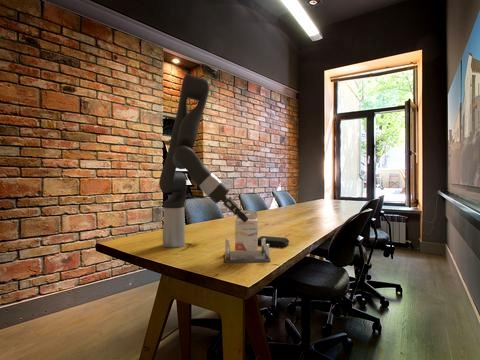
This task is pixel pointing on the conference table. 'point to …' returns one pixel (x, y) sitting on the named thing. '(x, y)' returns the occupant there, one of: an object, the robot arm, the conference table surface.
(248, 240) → the ink cartridge box
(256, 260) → the standoff plate
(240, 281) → the conference table surface
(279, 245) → the carrying case or bag
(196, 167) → the robot arm
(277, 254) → the conference table surface
